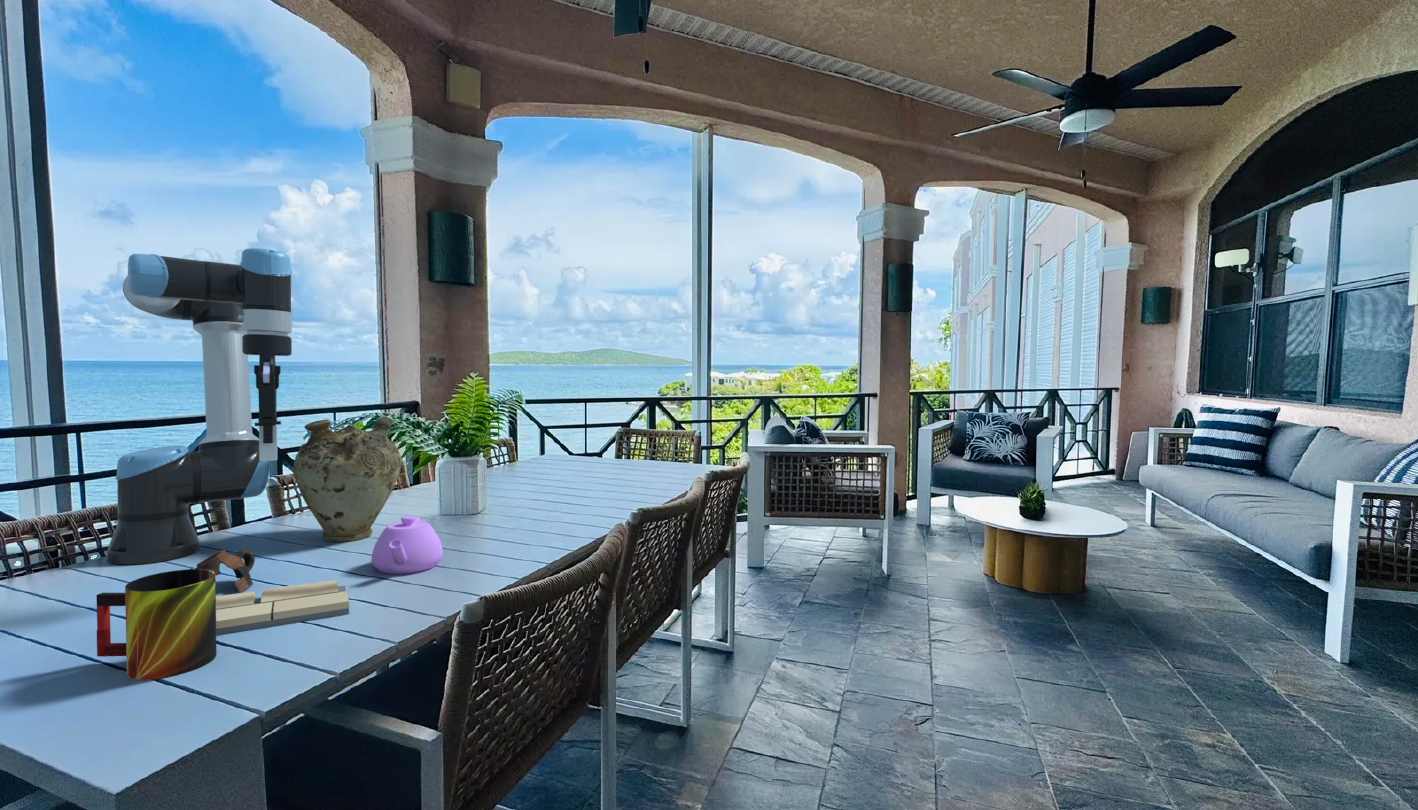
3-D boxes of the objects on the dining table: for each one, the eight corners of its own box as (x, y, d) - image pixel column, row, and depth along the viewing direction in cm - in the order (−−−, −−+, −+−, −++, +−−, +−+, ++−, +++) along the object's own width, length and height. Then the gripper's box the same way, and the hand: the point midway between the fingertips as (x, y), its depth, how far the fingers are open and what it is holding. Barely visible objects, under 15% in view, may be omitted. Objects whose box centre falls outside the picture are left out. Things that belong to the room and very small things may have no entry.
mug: (99, 662, 89) (97, 578, 88) (222, 643, 95) (221, 565, 95) (72, 693, 80) (70, 600, 80) (209, 670, 87) (208, 585, 86)
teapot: (356, 584, 123) (356, 530, 122) (384, 554, 142) (384, 508, 142) (432, 580, 126) (432, 528, 125) (449, 552, 145) (449, 506, 145)
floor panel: (164, 616, 105) (164, 603, 105) (344, 590, 119) (344, 579, 119) (148, 645, 94) (148, 631, 94) (349, 613, 108) (349, 601, 108)
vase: (394, 543, 147) (381, 415, 146) (283, 556, 142) (269, 425, 141) (418, 522, 170) (407, 411, 168) (323, 533, 165) (311, 419, 164)
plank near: (172, 609, 105) (171, 602, 105) (255, 597, 111) (255, 591, 111) (165, 623, 100) (164, 616, 99) (253, 610, 106) (252, 603, 106)
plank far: (262, 595, 112) (262, 589, 111) (336, 585, 118) (336, 579, 118) (260, 609, 106) (260, 602, 106) (338, 597, 112) (338, 591, 112)
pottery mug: (233, 601, 114) (203, 565, 111) (193, 620, 115) (163, 584, 113) (278, 565, 125) (252, 531, 123) (241, 582, 126) (215, 549, 124)
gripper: (245, 334, 121) (246, 456, 122) (239, 331, 109) (240, 466, 111) (292, 336, 125) (292, 454, 126) (290, 334, 114) (291, 463, 115)
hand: (268, 460), depth 118 cm, fingers closed
